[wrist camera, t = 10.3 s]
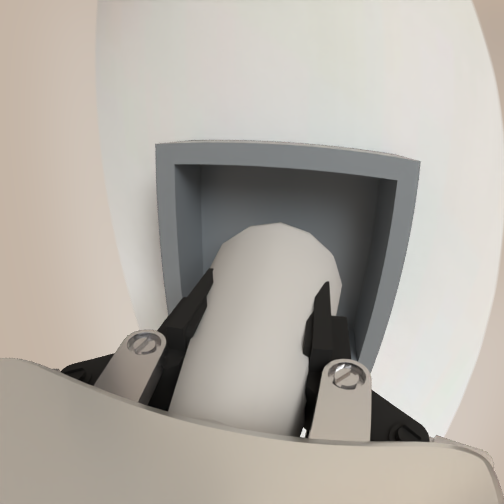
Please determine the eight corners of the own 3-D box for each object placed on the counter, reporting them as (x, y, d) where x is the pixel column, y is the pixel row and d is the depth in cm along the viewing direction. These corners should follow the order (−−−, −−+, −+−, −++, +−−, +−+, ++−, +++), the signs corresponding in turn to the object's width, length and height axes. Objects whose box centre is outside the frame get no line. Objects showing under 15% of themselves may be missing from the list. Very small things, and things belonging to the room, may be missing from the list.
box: (191, 140, 17) (155, 143, 13) (394, 154, 15) (420, 161, 11) (197, 311, 22) (173, 348, 18) (362, 330, 20) (369, 375, 16)
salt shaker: (333, 204, 13) (379, 531, 2) (340, 310, 15) (340, 572, 4) (213, 218, 15) (1, 430, 3) (235, 316, 17) (135, 538, 5)
